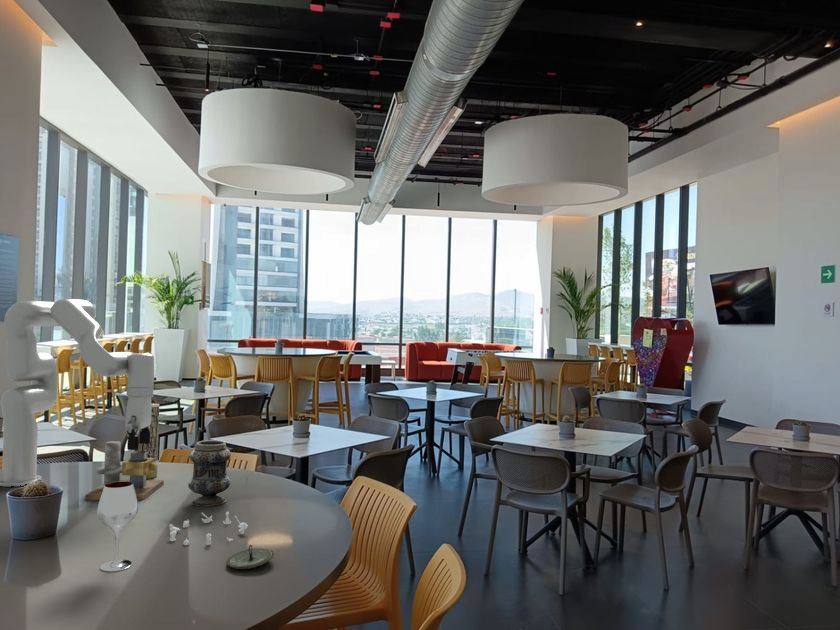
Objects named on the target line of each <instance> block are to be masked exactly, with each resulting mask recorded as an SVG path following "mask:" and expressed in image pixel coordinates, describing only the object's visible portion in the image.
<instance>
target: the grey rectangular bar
mask: <svg viewBox="0 0 840 630" xmlns="http://www.w3.org/2000/svg"><path fill="white" fill-rule="evenodd" d="M130 458H131V459H130V462H145V461H146V459H147V451H137V450H132V451H131V453H130ZM129 480H130V482H132V483H133V486H134V489H137V488H144V487H145V486H146V480H147V479H146V476H144V475H129Z"/></svg>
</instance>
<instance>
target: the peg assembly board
mask: <svg viewBox="0 0 840 630" xmlns="http://www.w3.org/2000/svg"><path fill="white" fill-rule="evenodd" d="M121 446H122V445H121V441H119V440H114V441H113V440H112V441H106V442H105V444H104V447H105V448H104V465H101V466H98V467H97V468H95V471H96V472H95V473H96V474H98V475H103V477H104V478H103V484H101V485H99V486H98V487H96V488H95V489H93V490H91V491H90V492H88V493H86V494H85V496H84V497H85V499H84V500H85V501H87V500H89V501H91V500H92V501H94V500H95V501H97V500H98V501H100V498H101V495H102V492H103V489H104V485H106V484H108V483H112V482H119V481H127V482H130V479H121V476H130V475H144V476H146V475H148V474H149V473H151V472H152V471H155V470H156V467H157V464H156V463H154V458H147V459H146V461H145V462H130V459H131V457H129V458H128V459H126V460H124V461H123V462H122V461H121V450H122V449H121ZM120 475H121V476H120ZM164 483H165V481H164V480H161V479H146V486H145V487H144V488H137V489H135V493H136V497H137V501H144V500H146V499H147V498H148V497H149V496H151V495H152V494H153V493H154V492H155V493H156V491H157V490H159V489H160V488H161V487H163V486H164ZM162 485H163V486H162Z"/></svg>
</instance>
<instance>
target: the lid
mask: <svg viewBox="0 0 840 630" xmlns="http://www.w3.org/2000/svg"><path fill="white" fill-rule="evenodd" d="M274 556H275V553H274V551H273V550H272V549H269V548H263V547H261V548H258V547H257V548H253V545H252V544H249V545H248V549H245V550H241V551H240V552H236V553H234V554H233V555H231V556H229V558H227V560H226V565H227V566H228V567H230V568H232V569H236V570H249V569H252V568H257V567H259V566H261V565H264V564H266V563H269V562H270V561H271V560H272V559H273V558H274Z"/></svg>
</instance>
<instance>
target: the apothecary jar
mask: <svg viewBox="0 0 840 630" xmlns="http://www.w3.org/2000/svg"><path fill="white" fill-rule="evenodd" d="M231 456H232V453H231V451H230V450H229V449H228V447H227V444H226V441H223V440H215V439H214V440H213V439H212V440H210V439H209V440H208V439H207V440H201V441H198V442H196V444H195V448H194V449H193V450H191V452H190V454H189V460H190V461H191V462H193V472H192V477H191V478H190V479H189V481H188V483H187V487H188V489H189V490H191V491H192V493H195V494H199V495H201V496H198V497H197V498H195V499H193V501H191V505H193V506H196V507H204V508H205V507H206V508H207V507H214V506H215V507H216V506H220V505H223V504H225V503H226V502H227V499H226V497H224V496H221V495H218V494H220V493H222V492H224V491H226V490H227V489H228V488H230V486H231V479H230V477H229V476H228V474H227V467H228V466H227V465H228V464H227V463H228V461H229V460H230V459H231Z"/></svg>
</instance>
